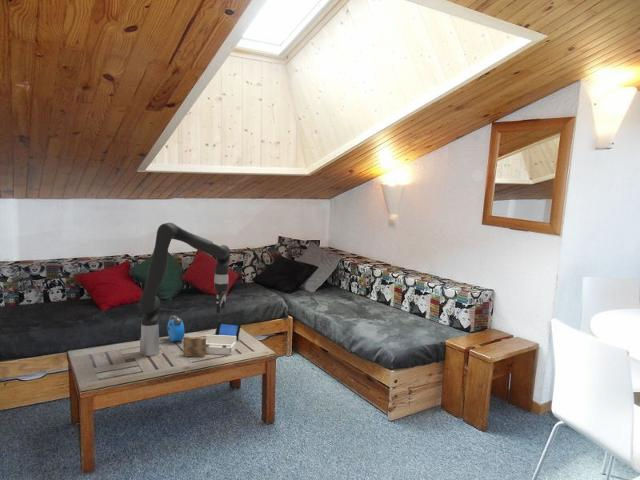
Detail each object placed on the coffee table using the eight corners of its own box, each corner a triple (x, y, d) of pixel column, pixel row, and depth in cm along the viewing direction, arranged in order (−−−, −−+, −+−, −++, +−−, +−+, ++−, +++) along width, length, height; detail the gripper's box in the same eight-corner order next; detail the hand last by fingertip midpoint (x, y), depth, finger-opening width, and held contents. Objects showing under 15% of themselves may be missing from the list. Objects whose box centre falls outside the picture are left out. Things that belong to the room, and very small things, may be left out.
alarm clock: (184, 342, 287) (184, 318, 286) (174, 344, 284) (174, 320, 282) (177, 336, 298) (176, 313, 296) (167, 338, 294) (166, 314, 292)
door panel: (183, 355, 267) (183, 338, 266) (185, 353, 269) (184, 336, 268) (204, 356, 266) (204, 339, 265) (205, 354, 269) (205, 337, 267)
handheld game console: (208, 342, 289) (208, 327, 288) (217, 336, 302) (217, 321, 301) (232, 345, 286) (232, 330, 285) (241, 338, 299) (241, 323, 298)
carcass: (199, 353, 270) (199, 341, 270) (206, 346, 282) (206, 334, 282) (231, 354, 269) (231, 342, 268) (236, 347, 281) (236, 335, 281)
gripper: (218, 278, 268) (217, 307, 270) (210, 284, 254) (210, 313, 256) (231, 279, 268) (230, 307, 270) (224, 285, 254) (223, 314, 256)
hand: (220, 310), depth 263 cm, fingers open, 8 cm apart
